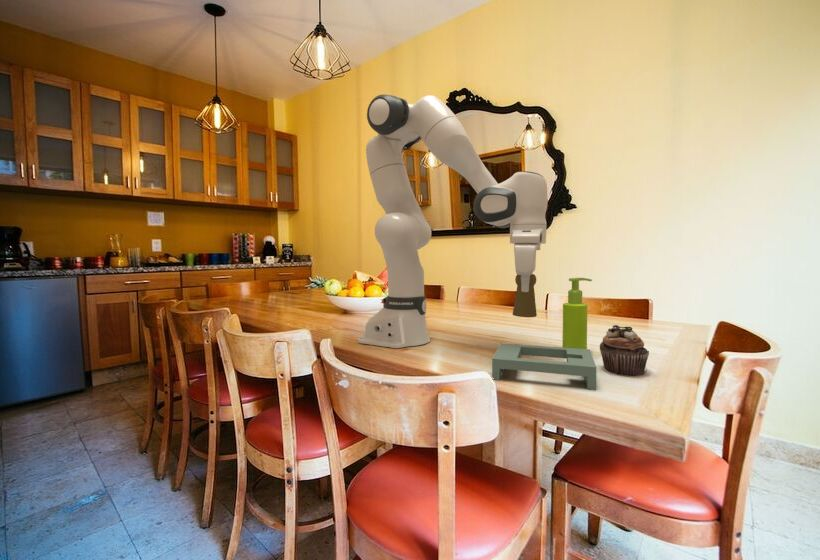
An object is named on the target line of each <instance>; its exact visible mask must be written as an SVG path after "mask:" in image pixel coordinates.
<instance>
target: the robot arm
mask: <svg viewBox="0 0 820 560" xmlns="http://www.w3.org/2000/svg"><path fill="white" fill-rule="evenodd" d="M366 119H367V122H368V125H369V126H370V127H371V129H372V130H373V131H375V133H377V135H375V136H373V137H371V138H370V139H369V140H368V141H367V144H366V146H365V154H366V161H367V168H368V172H369V176H370V180H371V183H372V187H373V191H374V193H375V197H376V201H377V203H378V204H379V205H380V206H381V208H382V209H383V210H384V212H385V214H384V215H382V216H381V217H380V218H378V220H377V221H376V223H375V225H374V236H375V239H376V241H377V242H378V244H379V245H380V247H381V250H382V253H383V259H384V261H385V265H386V273H387V291H388V292H387V293H388V295H386V297H384V298H381V299H380V301H381V302H380V304H382V308H381V309H380V310H379V311H378V312H376V313H375V314H374V315H373V316H372V317H370V318H369V319H368V321H367V322H366V323H365V329H364V334H362V335H360V336H359V337H358V338H357V343H358V344H362V345H363V344H364V345H365V344H366V345H371V346H378V347H386V348H392V349H400V348H405V347H406V348H407V347H415V346H416V347H417V346H421V345H422V346H423V345H425V344H428V343H430V342H431V338H430V334H429V331H428V325H427V317H426V313H427V297H426V295H425V271H424V267H423V266H422V263H421V261H420V256H419V252H418V251H419V250H421V249H422V248H423V247H425V246H427V245H428V244H429V242H430V241H431V239H432V228H431V225H430V224H429V223H428V222H427V220H426V218H425V215H424V214H423V211H422V208H421V207H420V205H419V203H418V201H417V198H416V197H415V194H414V191H413V188H412V185H411V182H410V179H409V175H408V172H407V169H406V164H405V161H404V158H403V154H402V153H403V150H405V151H407V150H410V149H411V148H412V147H413V146H414V145H415V144H418V143H419V142H420V141H421V140H422V141H423V143H424V145H425V146H426V148H427V149H428V151H429V152H430V153H431V154H432V155H433V156H434V157H435V158H436V159H437V160H438V161H440V163H442V164H443V165H444V166H446V167H448V168H450V169H452V170H454V171H455V172H457V173H458V174H459V175H461V176H462V177H463V178H464V179H465V180H466V181H467V182H468V183H469V185H470V186H471V187H472V189H474V191H475V192H476V194H477V195H475V198H474V200H473V211H474V214H475V216H476V217H477V218H478V220H480V221H482V222H483V223H485V224H487V225H488V224H489V225H492V226H494V227H496V228H499V229H506V228H507V229H508V228H509V244H514V245H513V252H514V266H515V267H514V268H515V272H516V273H515V274H516V275H521V291H522V292H528V291H529V281H530V275H532V274H534V272H535V271H536V265H537V261H536V260H537V251H541V244H546V243H547V240H546V239H547V219H546V214H547V213H546V212H547V209H548V184H547V183H548V182H547V179H546V178H545V177H544V176H543V175H541V174H540V173H538V172H533V171H530V170H529V171H526V170H524V171H523V170H522V171H517V172H515V173H513V175H512V176H510V177H509V178H508V179H506V180H504V181H502V182H500V183H499V182H498V181H497V180H496V178H495V177H494V176H493V175H492V173H491V172H490V171H489V170H488V169H489V168H488V167H486V166H485V164H484V163H483V161H482V160H481V158H480V156H479V154H478V152H477V150H476V147H474V145H473V143H472V140H471V138H470V137H469V135H468V133H467V131H466V129H465V128H464V126H463V125H462V122H461V121H460V120H459V118H458V117H457V116H456V115H455V113H454V112H453V110H451V108H450V107H448V105H446V103H444V102H443V101H442V100H441V98H439V97H437V95H436V96H435V95H432V94H427V95H424V96H422V97H420V98H419V99H418V100H417V101H416V102H414V103H409V102H407V100H406V99H404V98H401V97H398V96H395V95H391V94H378V95H377V96H375V97H374V98H372V100H371V101H370V103H369V104H368V107H367V110H366Z"/></svg>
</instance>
